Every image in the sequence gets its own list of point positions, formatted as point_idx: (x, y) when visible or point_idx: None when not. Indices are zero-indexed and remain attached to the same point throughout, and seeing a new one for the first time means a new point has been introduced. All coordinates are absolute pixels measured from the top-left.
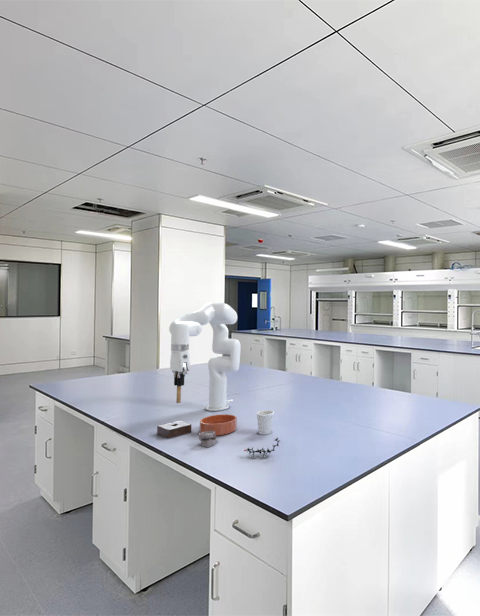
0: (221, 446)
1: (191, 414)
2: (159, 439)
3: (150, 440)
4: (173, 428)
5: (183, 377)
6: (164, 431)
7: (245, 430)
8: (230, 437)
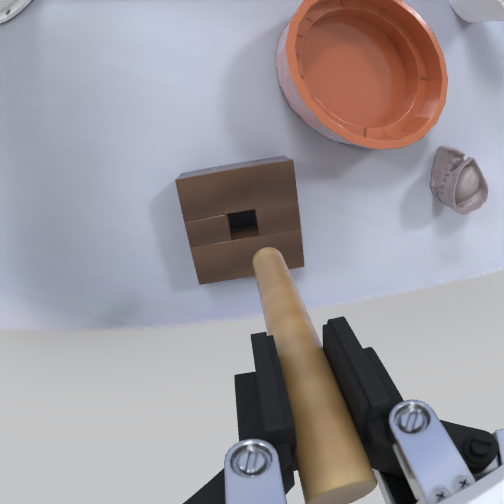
0: (483, 162)
1: (13, 81)
2: None
3: None
4: (297, 246)
5: (406, 410)
6: None
7: None
8: None
